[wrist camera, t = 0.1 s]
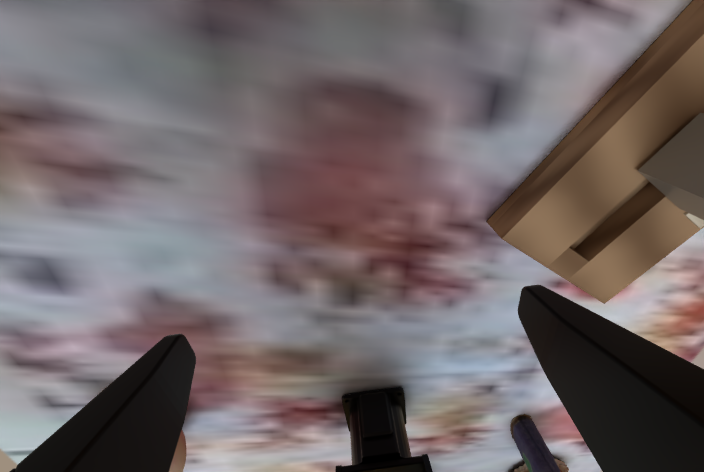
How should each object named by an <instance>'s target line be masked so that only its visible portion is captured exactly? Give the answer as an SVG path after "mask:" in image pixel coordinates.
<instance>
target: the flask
mask: <svg viewBox="0 0 704 472" xmlns="http://www.w3.org/2000/svg"><path fill="white" fill-rule="evenodd" d="M511 434H512V437H513V439H514V441H515V443H516V445H517V447H518V449H519V451H520V453H521V456H522V458H523V460H524V462H525V464H526V466H527V468H528V470H529V472H561V471H560V469H559V467H558V465H557V463H556V461H555V459H554V457H553V456H552V454H551V452H550V451H549V449H548V447H547V446H546V444H545V442H544V440H543V439H542V437H541V435H540V433H539V431H538V430H537V428H536V426H535V424H534V422H533V421H532V419H531V416H529V415H525V414H524V415H519V416H517V417H515V418H513V420H512V422H511Z"/></svg>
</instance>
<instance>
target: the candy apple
mask: <svg viewBox="0 0 704 472" xmlns="http://www.w3.org/2000/svg"><path fill="white" fill-rule="evenodd" d="M555 461H556V463H557V465H558V467H559V469H560V471H561V472H568V470H569V469H568V467H567V465H565V463H564V462H561V461H560V460H557V459H555ZM514 472H529V470H528V468H527V466H526V464H524V465H523V466H519V468H518V469H515V470H514Z"/></svg>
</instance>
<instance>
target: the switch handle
mask: <svg viewBox="0 0 704 472" xmlns="http://www.w3.org/2000/svg"><path fill="white" fill-rule="evenodd" d="M638 172H640V173H641V174H642V175H643V176H644V177H645V178H646V179H647V180H648V181H649V182H651V183H652V184H653V185H654V186H655V187H656V188H657V189H658V190H659V191H660V192H662V193H663V194H664V195H665V196H666V197H667V198H668V199H669V200H670V201H671V202H673V203H674V204H675V205H676V206H677V207H678V208H679V209H681V210H683V211H685V212H688V213H690V214H692V215H694V216H696V217H698V218H700V219H702V220H704V113H700V114H698V115H697V116H696V117H695V118H694V119H693V120H692V121H691V122H690V123H689V124H688V125H686V126H685V127H684V128H683V129H682V130H681V131H680V132H679V133H678V134H677V135H676V136H675V137H673V138H672V139H671V140H670V141H669V142H668V143H667V144H666V145H665V146H664V147H663V148H661V149H660V150H659V151H658V152H657V153H656V154H655V155H654V156H653V157H652V158H651V159H649V160H648V161H647V162H646V163H645V164H644V165H643V166H642V167H641V168H640V169H639V170H638Z"/></svg>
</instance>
